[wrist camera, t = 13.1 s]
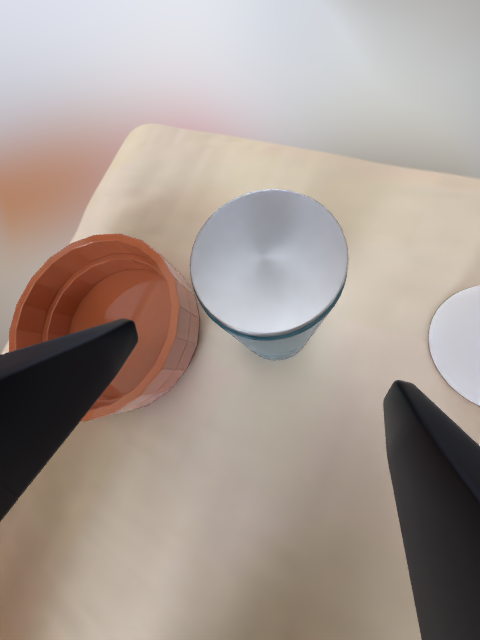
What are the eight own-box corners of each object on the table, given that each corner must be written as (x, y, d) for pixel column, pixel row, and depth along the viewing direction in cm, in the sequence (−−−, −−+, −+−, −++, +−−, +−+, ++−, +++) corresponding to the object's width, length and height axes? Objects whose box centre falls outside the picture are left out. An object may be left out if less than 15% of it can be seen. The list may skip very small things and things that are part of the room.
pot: (161, 438, 18) (123, 458, 14) (39, 373, 21) (-23, 373, 17) (225, 284, 20) (209, 260, 16) (105, 246, 23) (64, 217, 19)
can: (277, 374, 18) (270, 376, 7) (229, 329, 19) (156, 267, 8) (323, 324, 18) (391, 243, 7) (272, 283, 19) (259, 161, 8)
